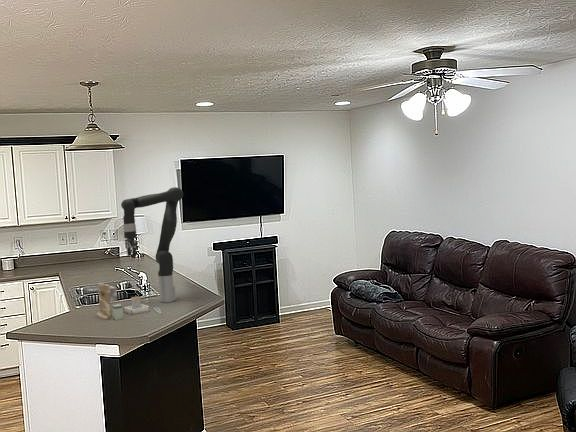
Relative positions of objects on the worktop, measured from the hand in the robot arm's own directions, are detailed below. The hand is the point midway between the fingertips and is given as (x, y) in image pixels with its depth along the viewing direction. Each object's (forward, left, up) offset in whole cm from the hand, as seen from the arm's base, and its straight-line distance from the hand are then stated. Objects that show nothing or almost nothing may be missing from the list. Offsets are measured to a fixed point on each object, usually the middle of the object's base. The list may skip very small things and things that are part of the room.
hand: (132, 255), depth 388 cm
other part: (+22, +28, -32) cm, 48 cm away
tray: (+7, +19, -32) cm, 38 cm away
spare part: (+7, +19, -31) cm, 37 cm away
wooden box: (+23, +16, -32) cm, 43 cm away
